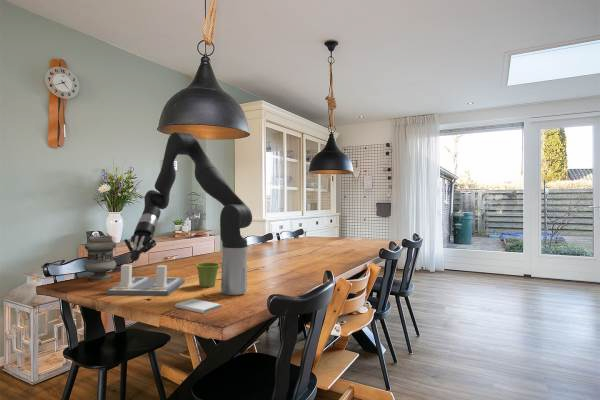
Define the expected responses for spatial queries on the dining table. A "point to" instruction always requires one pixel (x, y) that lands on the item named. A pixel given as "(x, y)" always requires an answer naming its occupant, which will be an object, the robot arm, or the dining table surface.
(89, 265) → the apothecary jar
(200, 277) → the plant pot
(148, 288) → the switch board
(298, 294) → the dining table surface
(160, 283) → the tab
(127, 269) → the tab
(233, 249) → the robot arm
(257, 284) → the dining table surface
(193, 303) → the external hard drive
